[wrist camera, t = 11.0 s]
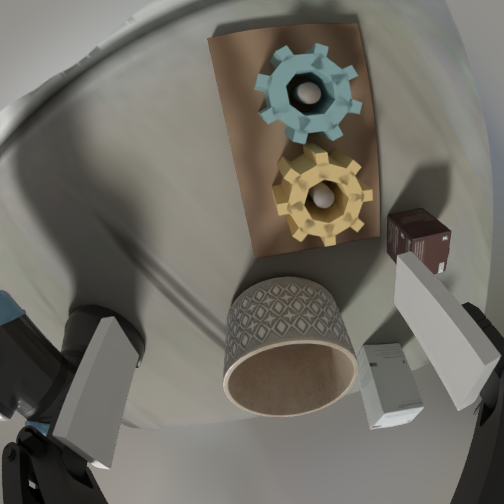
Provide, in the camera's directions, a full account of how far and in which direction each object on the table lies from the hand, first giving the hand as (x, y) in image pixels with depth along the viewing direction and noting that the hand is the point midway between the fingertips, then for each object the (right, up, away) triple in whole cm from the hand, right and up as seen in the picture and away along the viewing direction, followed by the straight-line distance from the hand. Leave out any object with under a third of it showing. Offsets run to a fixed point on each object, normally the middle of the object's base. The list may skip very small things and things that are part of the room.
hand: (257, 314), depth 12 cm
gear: (+5, +19, +14) cm, 24 cm away
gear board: (+6, +15, +18) cm, 24 cm away
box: (+21, +6, +24) cm, 32 cm away
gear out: (+6, +10, +19) cm, 22 cm away
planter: (+4, -7, +31) cm, 32 cm away
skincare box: (+23, -16, +36) cm, 46 cm away
